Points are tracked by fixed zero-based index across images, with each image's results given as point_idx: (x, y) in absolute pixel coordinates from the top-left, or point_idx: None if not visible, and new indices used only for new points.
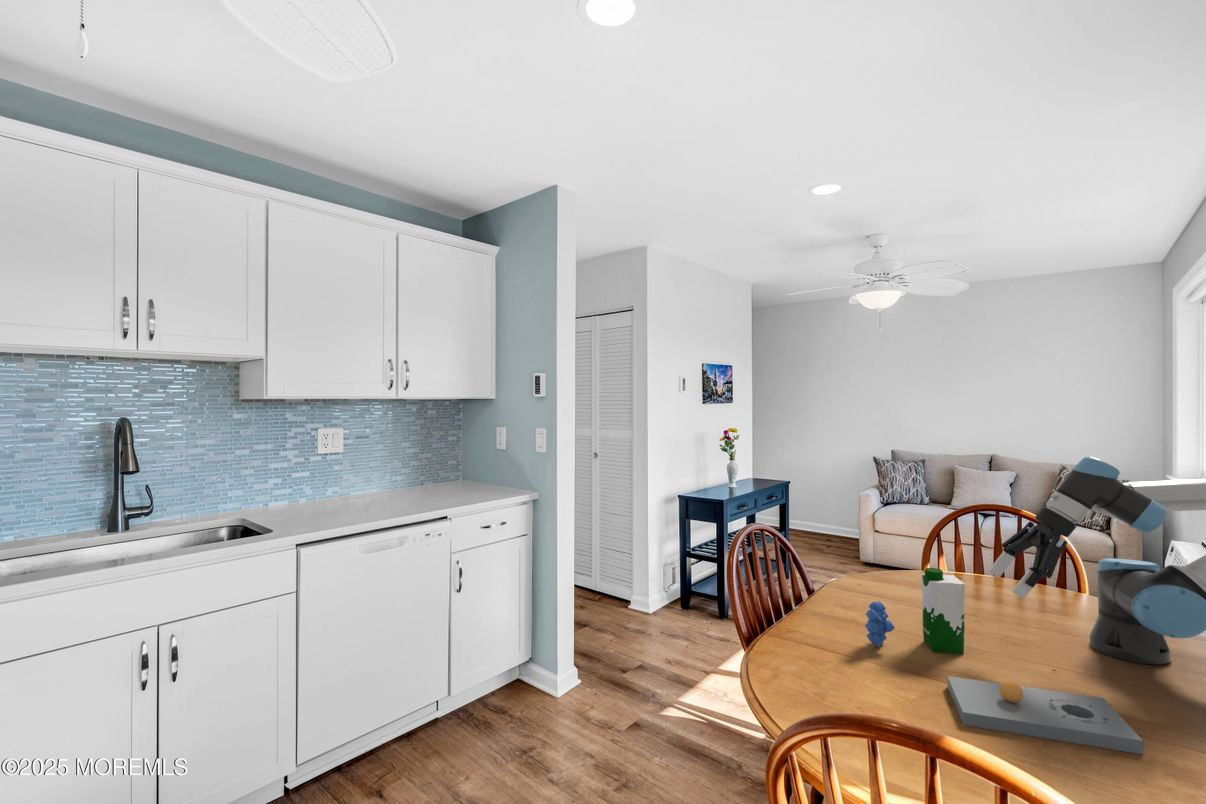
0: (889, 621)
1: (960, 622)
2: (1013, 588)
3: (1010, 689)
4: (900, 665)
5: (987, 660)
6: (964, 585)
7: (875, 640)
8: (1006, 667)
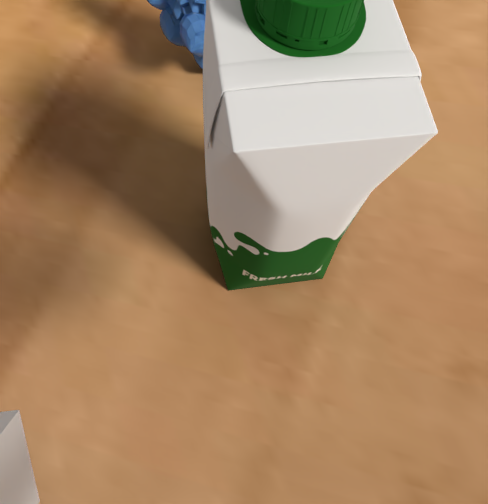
0: (192, 22)
1: (230, 237)
2: (4, 426)
3: None
4: (90, 104)
5: (200, 357)
6: (232, 154)
7: (163, 32)
8: (153, 408)
